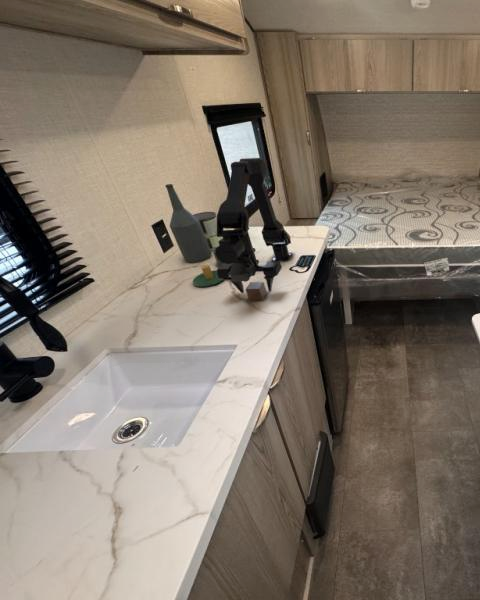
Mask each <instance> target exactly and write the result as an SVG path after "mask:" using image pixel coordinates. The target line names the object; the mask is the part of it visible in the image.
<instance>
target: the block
mask: <svg viewBox="0 0 480 600" xmlns="http://www.w3.org/2000/svg"><path fill="white" fill-rule="evenodd" d="M244 291H245V292H246V296H247V298H248V301H249V302H250V301H264V299H265V297H266V295H267V294H268V292H267V288H266V285H265V282H264V281H250V282H249V283H248V285H247V286H246V288H245V289H244Z"/></svg>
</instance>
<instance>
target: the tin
mask: <svg viewBox="0 0 480 600" xmlns="http://www.w3.org/2000/svg"><path fill="white" fill-rule="evenodd" d="M216 248H217V247H216ZM216 248H215V249H214V250H212V252H213V256H214V259H215V262H216V263H217V266H218V267H220V266H221V265H222V264H223V262H221V261H220V260H219V259H218V258H217V257H216V254H215V253H216Z"/></svg>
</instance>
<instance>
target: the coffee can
mask: <svg viewBox="0 0 480 600" xmlns="http://www.w3.org/2000/svg"><path fill="white" fill-rule="evenodd" d="M193 215H194V216H195V217H196V218H197V219H199V222H200V224H201V227H202V230H203V232H204V235H205V237H206V240H207V243H208V245H209V248H210V250H211V251H213V250H214V249H215V248H216V247H218V246H219V240H221V239H223V237H217V213H216V212H214V211H203V212H198V213H194V214H193Z"/></svg>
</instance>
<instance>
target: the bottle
mask: <svg viewBox="0 0 480 600" xmlns="http://www.w3.org/2000/svg"><path fill="white" fill-rule="evenodd" d="M165 188H166V190H167V194H168V197H169V201H170V204H171V207H172V214H171V217H170V222H169V228H170V230H171V233H172V235H173V237H174V240H175V242H176V244H177V247H178V249H179V251H180V253H181V256H182V258H183V260H184V261H185V262H188V263H190V264H192V263H202V262H204V261H206V260H208V259H210V258H211V255H212V250H210V248H209V245H208V243H207V240H206V237H205V235H204V232H203V230H202V227H201V224H200V222H199V219H197V218H196V217H195V216H194V214H192V213H191V212H190V211H189V210H188V209H186V208H185V206H184V205H183V203H182V201H181V199H180V197H179V196H178V194H177V191H176V189H175V188H174V185H173V183H168V184H165Z"/></svg>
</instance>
